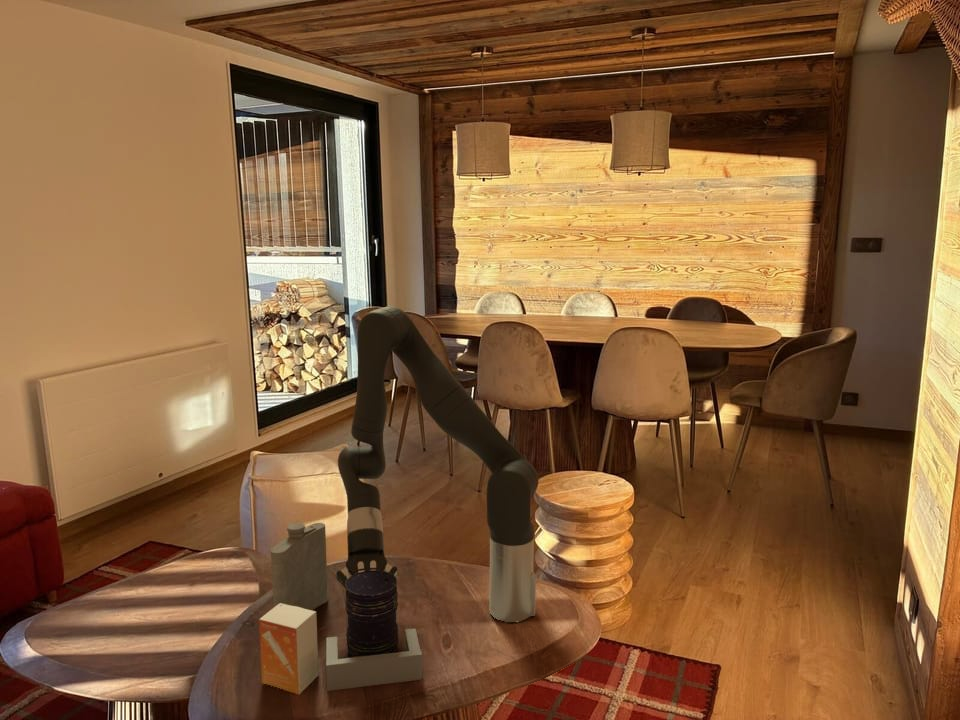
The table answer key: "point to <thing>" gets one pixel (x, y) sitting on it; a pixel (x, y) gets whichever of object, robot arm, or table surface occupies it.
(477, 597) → the table surface
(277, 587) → the hip flask
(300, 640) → the small box
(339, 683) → the grey u-shaped frame
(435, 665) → the table surface
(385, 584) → the black ribbed barrel
